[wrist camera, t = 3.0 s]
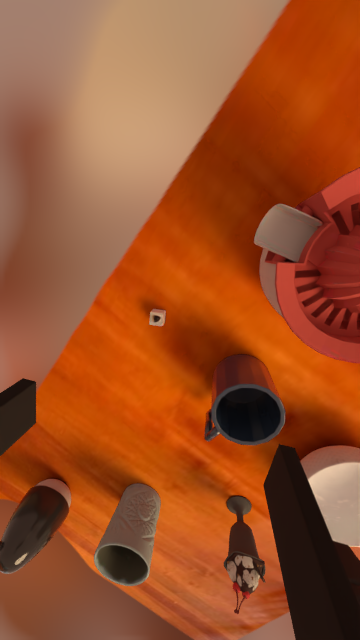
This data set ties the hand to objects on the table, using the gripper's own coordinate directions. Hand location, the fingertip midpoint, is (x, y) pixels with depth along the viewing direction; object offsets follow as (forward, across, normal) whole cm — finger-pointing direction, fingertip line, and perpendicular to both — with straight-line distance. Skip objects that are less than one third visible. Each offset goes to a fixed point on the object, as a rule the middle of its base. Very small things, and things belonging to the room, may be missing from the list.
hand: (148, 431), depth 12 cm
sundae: (+28, +17, -38) cm, 50 cm away
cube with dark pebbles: (+28, -6, -2) cm, 28 cm away
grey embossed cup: (+28, -3, -44) cm, 52 cm away
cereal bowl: (+28, +30, -23) cm, 47 cm away
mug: (+28, +9, -12) cm, 31 cm away
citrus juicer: (+28, +14, +11) cm, 33 cm away
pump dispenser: (+28, -23, -49) cm, 61 cm away
